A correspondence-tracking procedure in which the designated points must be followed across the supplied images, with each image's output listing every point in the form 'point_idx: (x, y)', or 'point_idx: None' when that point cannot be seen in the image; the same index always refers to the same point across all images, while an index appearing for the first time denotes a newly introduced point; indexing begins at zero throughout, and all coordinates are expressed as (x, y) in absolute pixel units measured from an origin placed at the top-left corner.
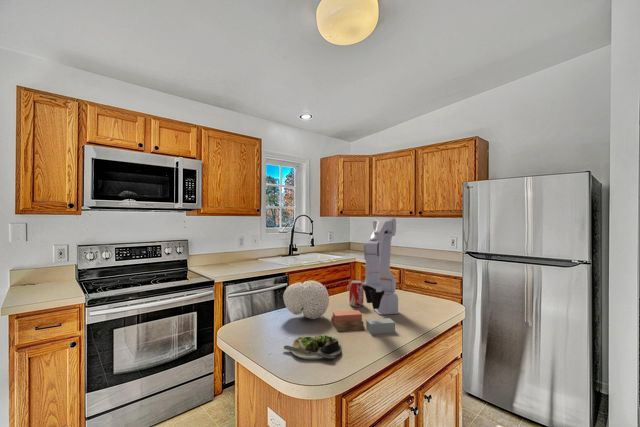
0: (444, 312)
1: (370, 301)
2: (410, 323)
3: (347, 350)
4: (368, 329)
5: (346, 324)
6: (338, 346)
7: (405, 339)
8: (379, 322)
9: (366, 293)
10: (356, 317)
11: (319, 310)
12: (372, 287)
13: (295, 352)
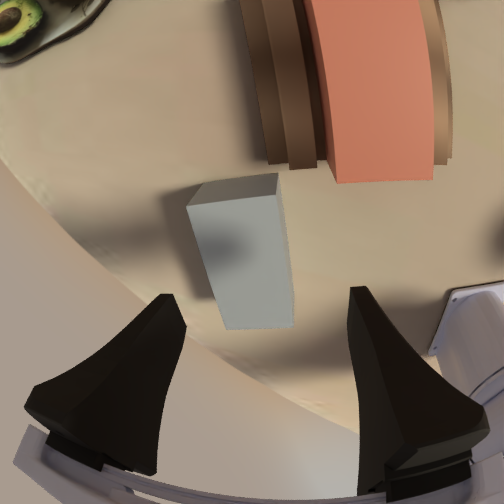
0: None
1: (349, 321)
2: (324, 362)
3: (40, 75)
4: (236, 181)
5: (271, 44)
6: (5, 52)
7: None
8: (221, 263)
9: (377, 367)
10: (328, 130)
11: None
12: (203, 493)
13: None
